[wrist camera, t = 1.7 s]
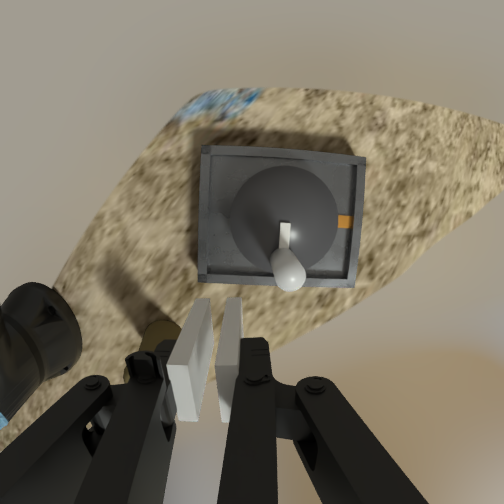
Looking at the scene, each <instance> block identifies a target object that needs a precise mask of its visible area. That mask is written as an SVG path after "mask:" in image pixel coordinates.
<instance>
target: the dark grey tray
mask: <svg viewBox="0 0 504 504" xmlns="http://www.w3.org/2000/svg"><path fill="white" fill-rule="evenodd" d="M275 166H294V167H299V168H302V169H305V170H307V171H309V172H311V173H313V174H314V175H316V176H317V177H318V178H320V179H321V180H322V181H323V182H324V183H325V184H326V186H327V187H328V188H329V190H330V191H331V193H332V195H333V197H334V199H335V202H336V205H337V210H338V229H337V233H336V237H335V240H334V242H333V244H332V246H331V248H330V249H329V251H328V252H327V253H326V255H325V256H324V257H323V258H322V259H321V260H320V261H319V262H317V263H316V264H315V265H313V266H311V267H310V268H308V269H305V272H306V279H305V282H304V284H303V285H302V286H301V287H340V288H354V287H355V279H356V272H357V264H358V256H359V247H360V238H361V228H362V216H363V204H364V189H365V170H366V157H360V156H352V155H344V154H336V153H327V152H318V151H308V150H296V149H284V148H269V147H250V146H220V145H202V147H201V166H200V189H199V221H198V282H204V283H223V284H245V285H269V286H278V285H277V284H276V281H275V277H274V274H273V273H271V272H267V271H265V270H262V269H260V268H258V267H256V266H255V265H253V264H252V263H250V262H249V261H248V260H247V259H246V258H245V257H244V256H243V255H242V253H241V252H240V251H239V249H238V248H237V246H236V244H235V242H234V239H233V236H232V233H231V227H230V213H231V208H232V204H233V201H234V199H235V196H236V195H237V193H238V191H239V190H240V188H241V187H242V185H243V184H244V183H245V182H246V181H247V180H248V179H249V178H251V177H252V176H253V175H255V174H256V173H258V172H260V171H262V170H264V169H267V168H271V167H275Z"/></svg>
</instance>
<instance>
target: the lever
mask: <svg viewBox="0 0 504 504" xmlns="http://www.w3.org/2000/svg"><path fill="white" fill-rule="evenodd" d="M230 227H231V233H232V236H233V239H234V242H235V244H236V246H237V248H238V249H239V251H240V252H241V253H242V255H243V256H244V257H245V258H246V259H247V260H248V261H249V262H250V263H252V264H253V265H255V266H256V267H258V268H260V269H262V270H265V271H267V272H271V273H273V274H274V277H275V281H276V284H277V285H278V286H279V288H281V289H282V290H284V291H295V290H298V289H299V288H300V287H301V286H302V285H303V284H304V282H305V279H306V272H305V269H308V268H310V267H311V266H313V265H315V264H316V263H317V262H319V261H320V260H321V259H322V258H323V257H324V256H325V255H326V253H327V252H328V251H329V249H330V248H331V246H332V244H333V242H334V240H335V237H336V233H337V229H338V210H337V205H336V202H335V199H334V197H333V195H332V193H331V191H330V190H329V188H328V187H327V186H326V184H325V183H324V182H323V181H322V180H321V179H320V178H318V177H317V176H316V175H314V174H313V173H311V172H309V171H307V170H305V169H302V168H299V167H294V166H275V167H271V168H267V169H264V170H262V171H260V172H258V173H256V174H255V175H253V176H252V177H251V178H249V179H248V180H247V181H246V182H245V183H244V184H243V185H242V187H241V188H240V190H239V191H238V193H237V195H236V196H235V199H234V201H233V204H232V208H231V213H230Z"/></svg>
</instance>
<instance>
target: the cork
mask: <svg viewBox="0 0 504 504" xmlns="http://www.w3.org/2000/svg"><path fill="white" fill-rule="evenodd" d="M181 330H182V329H181V328H180V327H179V326H178V325H176V324H175V323H173V322H170V321H167V320H159V321H155V322H153V323H151V324H150V325H149V326H148V328H147V329H146V331H145V334H144V337H143V339H142V342H141V345H140V348H139V351H145V350H147V351H153V352H154V350H155V348H156V346H157V345H158V344H159V343H160V342H162V341H163V340H164V339H174V340H177V339H178V337H179V335H180V333H181ZM129 378H130V376H129V372H128V369H127V366H126V367H125V369H124V375H123V379H124V383H128V380H129Z"/></svg>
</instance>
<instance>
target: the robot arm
mask: <svg viewBox="0 0 504 504" xmlns="http://www.w3.org/2000/svg"><path fill="white" fill-rule="evenodd" d="M213 346H214V337H213V327H212V316H211V305H210V298H200V299H195V302H194V304H193V306H192V308H191V310H190V313H189V315H188V317H187V319H186V321H185V324H184V326H183V328H182V330H181V333H180V335H179V337H178V339H177V340H174V339H164V340H163V341H162V342H160V343H159V344H158V345H157V346H156V348H155V350H154V352H153V351H147V350H145V351H138V352H134V353H132V354H130V355H128V356H127V357H126V358H125V361H126V365H127V369H128V372H129V376H130V378H129V380H128V383H125V384H118V385H110V382H109V380H108V379H107V378H106V377H104V376H101V375H91V376H88V377H85V378H83V379H82V380H80V381H79V382H78V383H77V384H76V385H75V386H73V387H72V388H71V389H70V390H69V391H68V392H67V393H66V394H65V395H63V396H62V397H61V398H60V399H59V400H58V401H57V402H56V403H54V404H53V405H52V406H51V407H50V408H49V409H48V410H47V411H46V412H45V413H43V414H42V415H41V416H40V417H39V418H38V419H37V420H36V421H35V422H33V423H32V424H31V425H30V426H29V427H28V428H27V429H26V430H25V431H24V432H23V433H21V434H20V435H19V436H18V437H17V438H16V439H15V440H14V441H13V442H12V443H11V444H9V445H8V446H7V447H6V448H5V449H4V450H3V451H2V452H1V453H0V504H163V499H164V493H165V487H166V482H167V476H168V471H169V465H170V460H171V455H172V449H173V444H174V439H175V434H176V423H175V420H174V419H175V415H176V412H177V414H178V419H179V421H193V422H198V420H199V415H200V410H201V405H202V400H203V394H204V389H205V385H206V380H207V375H208V370H209V365H210V361H211V356H212V351H213ZM81 352H82V337H81V332H80V328H79V326H78V323H77V321H76V318H75V316H74V314H73V313H72V311H71V309H70V308H69V306H68V305H67V304H66V302H65V301H64V300H63V299H62V298H61V297H60V296H59V295H58V294H57V293H56V292H55V291H54V290H52V289H51V288H49V287H47V286H46V285H43V284H41V283H36V282H29V283H25V284H23V285H21V286H19V287H18V288H16V289H14V290H13V291H12V292H11V293H10V294H9V296H8V298H7V299H6V300H5V301H4V303H3V304H2V305H1V306H0V430H1V429H2V428H3V427H4V426H6V425H7V424H8V422H9V421H10V420H11V419H12V417H13V416H14V415H15V414H16V412H17V411H18V410H19V409H20V408H21V407H22V405H23V404H24V403H25V402H26V401H27V399H28V398H29V397H30V396H31V395H32V394H33V393H34V391H35V390H36V389H37V388H38V387H39V386H40V385H41V384H42V383H43V382H45V381H47V380H50V379H52V378H55V377H57V376H60V375H63V374H65V373H66V372H68V371H69V370H70V369H71V368H72V367H73V366H74V365H75V364H76V363H77V361H78V360H79V358H80V355H81ZM215 373H216V381H217V389H218V397H219V404H220V412H221V419H222V422H229V427H228V434H227V440H226V448H225V454H224V460H223V467H222V474H221V480H220V486H219V493H218V500H217V504H278V490H277V489H278V485H277V447H276V437H277V438H284V439H290V440H293V443H294V445H295V447H296V450H297V452H298V454H299V456H300V458H301V460H302V463H303V465H304V467H305V469H306V471H307V473H308V475H309V477H310V479H311V481H312V483H313V485H314V487H315V490H316V492H317V494H318V496H319V497H320V500H321V502H322V504H429V503H428V502H427V501H426V500H425V499H424V498H423V496H422V495H421V493H420V492H419V491H418V490H417V488H416V487H415V486H414V485H413V483H412V482H411V481H410V480H409V478H408V477H407V476H406V475H405V473H404V472H403V471H402V470H401V468H400V467H399V466H398V465H397V463H396V462H395V461H394V460H393V459H392V457H391V456H390V455H389V453H388V452H387V451H386V450H385V448H384V447H383V446H382V445H381V443H380V442H379V441H378V440H377V438H376V437H375V436H374V434H373V433H372V432H371V431H370V429H369V428H368V427H367V425H366V424H365V423H364V422H363V420H362V419H361V418H360V416H359V415H358V414H357V413H356V411H355V410H354V409H353V407H352V406H351V405H350V404H349V402H348V401H347V400H346V398H345V397H344V396H343V395H342V394H341V392H340V391H339V390H338V388H337V387H336V386H335V384H334V383H333V382H332V381H330V380H329V379H327V378H324V377H318V376H313V377H307V378H304V379H302V380H300V381H299V382H298V383H297V385H296V386H291V385H286V384H282V383H280V382H278V381H277V380H275V378H274V377H273V375H272V369H271V361H270V352H269V344H268V342H267V341H266V340H265V339H264V338H263V337H257V338H244V334H243V316H242V298H241V297H235V298H227V301H226V306H225V312H224V317H223V322H222V328H221V333H220V339H219V344H218V350H217V355H216V361H215ZM89 422H91V424H92V427H91V428H90V429H89V430H88V429H87V428H86V425H87V424H88V423H89Z"/></svg>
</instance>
